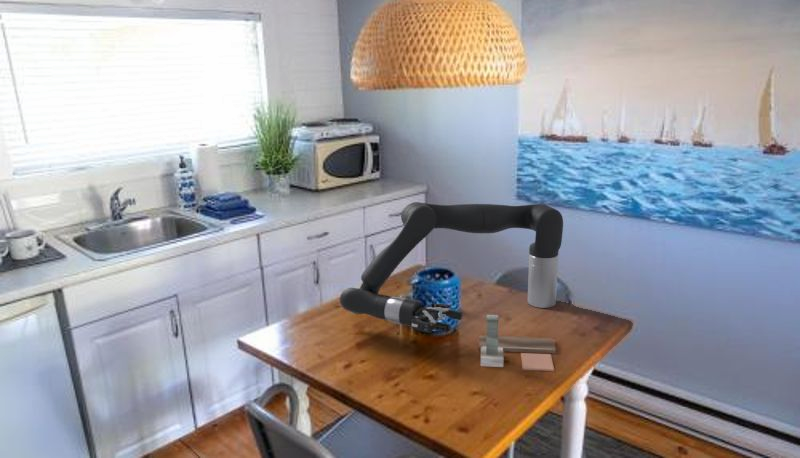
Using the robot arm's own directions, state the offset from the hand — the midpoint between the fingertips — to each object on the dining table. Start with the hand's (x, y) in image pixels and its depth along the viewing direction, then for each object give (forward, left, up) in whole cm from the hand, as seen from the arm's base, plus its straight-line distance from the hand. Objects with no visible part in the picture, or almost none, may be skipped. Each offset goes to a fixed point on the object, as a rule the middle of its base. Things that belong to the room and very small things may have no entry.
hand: (455, 322), depth 156 cm
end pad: (+3, +22, -10) cm, 24 cm away
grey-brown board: (-6, +17, -10) cm, 20 cm away
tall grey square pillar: (+3, +10, -10) cm, 14 cm away
